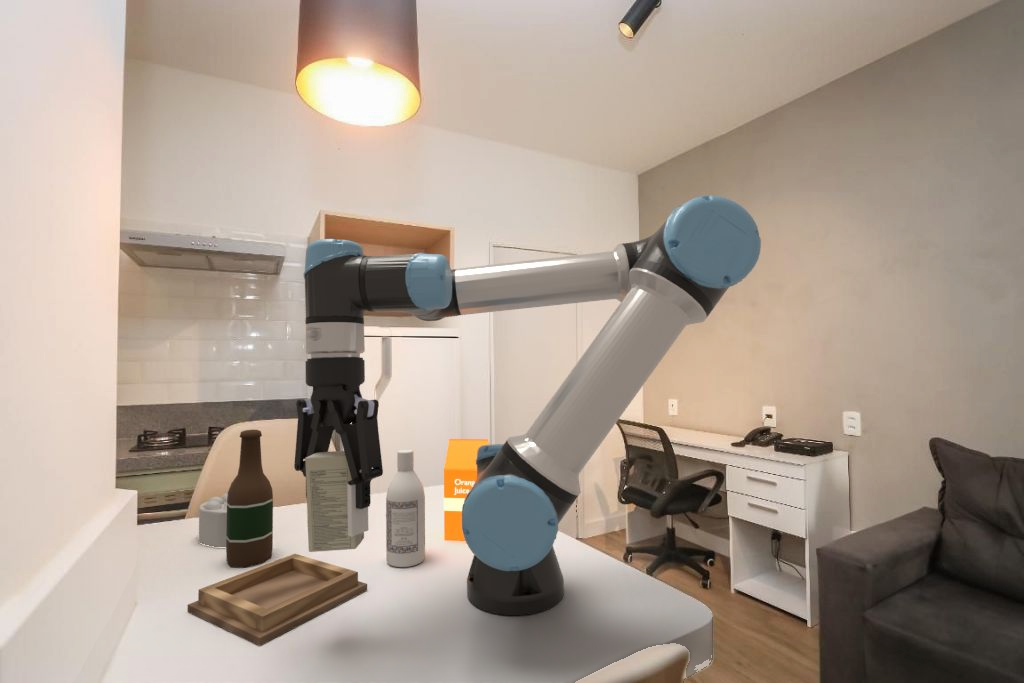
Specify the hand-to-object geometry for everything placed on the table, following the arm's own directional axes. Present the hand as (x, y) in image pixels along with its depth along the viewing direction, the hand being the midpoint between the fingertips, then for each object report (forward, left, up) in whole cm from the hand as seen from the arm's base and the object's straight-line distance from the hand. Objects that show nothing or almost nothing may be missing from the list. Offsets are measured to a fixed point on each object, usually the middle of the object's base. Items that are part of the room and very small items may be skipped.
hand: (337, 528), depth 66 cm
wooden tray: (+16, -3, -14) cm, 22 cm away
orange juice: (+8, -41, -15) cm, 44 cm away
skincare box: (0, 0, -2) cm, 2 cm away
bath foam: (+10, -24, -15) cm, 30 cm away
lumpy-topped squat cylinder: (+52, -15, -15) cm, 56 cm away
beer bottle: (+36, -10, -15) cm, 40 cm away
